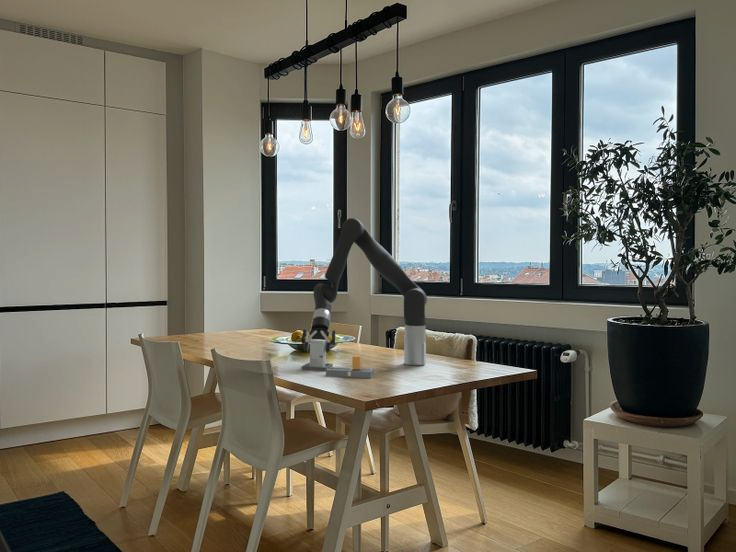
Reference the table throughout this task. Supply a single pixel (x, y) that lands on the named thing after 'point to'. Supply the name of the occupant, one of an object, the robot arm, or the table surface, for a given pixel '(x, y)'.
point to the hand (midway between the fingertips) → (316, 351)
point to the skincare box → (317, 353)
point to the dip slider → (357, 362)
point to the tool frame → (306, 367)
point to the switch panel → (349, 372)
